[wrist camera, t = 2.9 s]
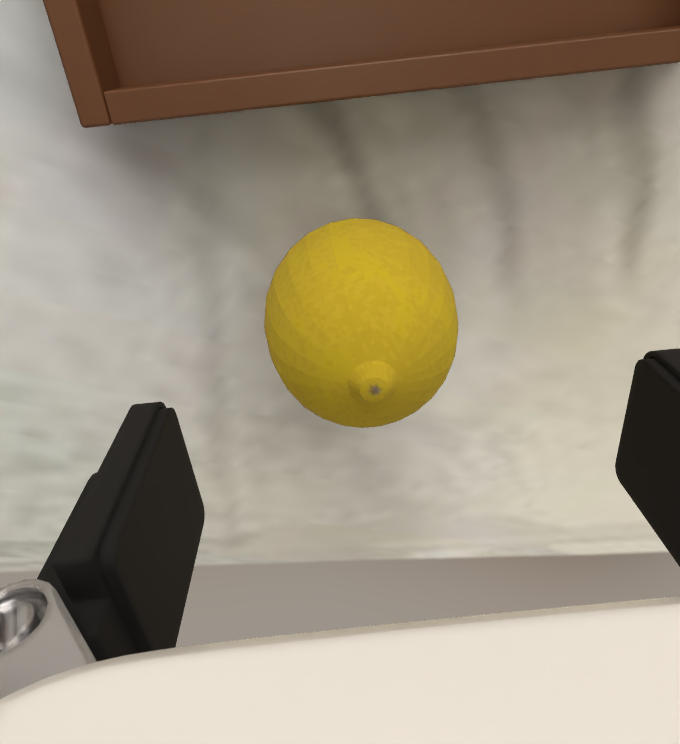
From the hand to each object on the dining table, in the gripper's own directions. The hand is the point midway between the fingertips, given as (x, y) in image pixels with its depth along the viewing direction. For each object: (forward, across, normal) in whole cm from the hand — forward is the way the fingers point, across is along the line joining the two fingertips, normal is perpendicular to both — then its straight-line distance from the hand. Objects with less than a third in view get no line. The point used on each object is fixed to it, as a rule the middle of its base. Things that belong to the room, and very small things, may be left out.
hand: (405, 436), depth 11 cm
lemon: (+10, +1, 0) cm, 10 cm away
